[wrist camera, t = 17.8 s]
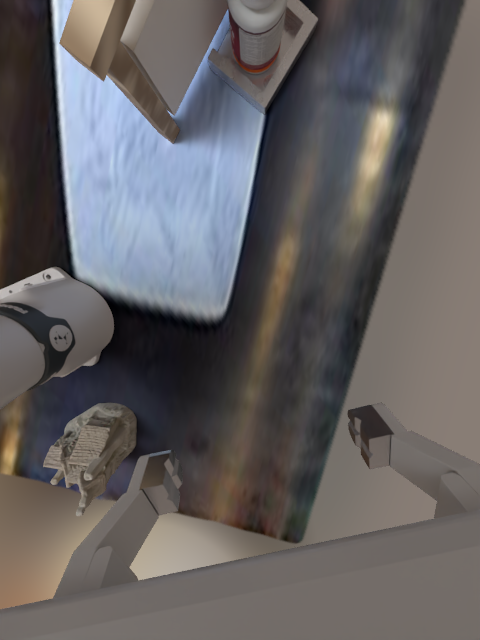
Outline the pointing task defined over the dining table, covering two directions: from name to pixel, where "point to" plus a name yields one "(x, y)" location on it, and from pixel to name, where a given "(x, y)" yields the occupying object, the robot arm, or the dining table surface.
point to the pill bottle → (256, 32)
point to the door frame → (113, 56)
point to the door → (171, 42)
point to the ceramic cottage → (93, 449)
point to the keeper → (268, 83)
